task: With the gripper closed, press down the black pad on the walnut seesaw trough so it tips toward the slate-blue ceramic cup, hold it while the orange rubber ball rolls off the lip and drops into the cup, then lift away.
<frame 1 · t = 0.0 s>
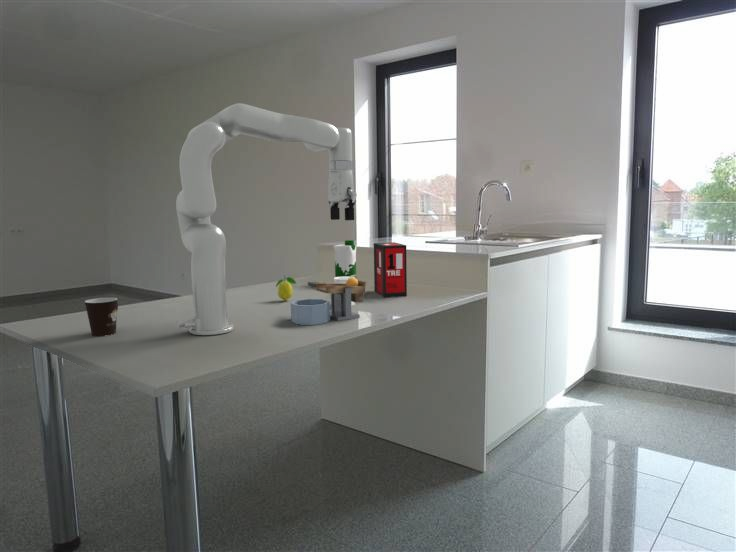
hand: (342, 219, 185), 31 cm above the table, tool pointing down, fingers open, 9 cm apart
white cup: (345, 305, 203), on the table
cleaning product box: (390, 294, 226), on the table
milk carton: (345, 285, 250), on the table
lever trough: (336, 289, 184), point 9 cm above the table, hinge at 6.0°, touching ball
lemon: (286, 301, 213), on the table
ball: (352, 283, 183), point 11 cm above the table, tilted 14°, touching lever trough
coffee mug: (108, 333, 166), on the table
lever stand: (341, 316, 183), on the table
cup: (310, 320, 177), on the table
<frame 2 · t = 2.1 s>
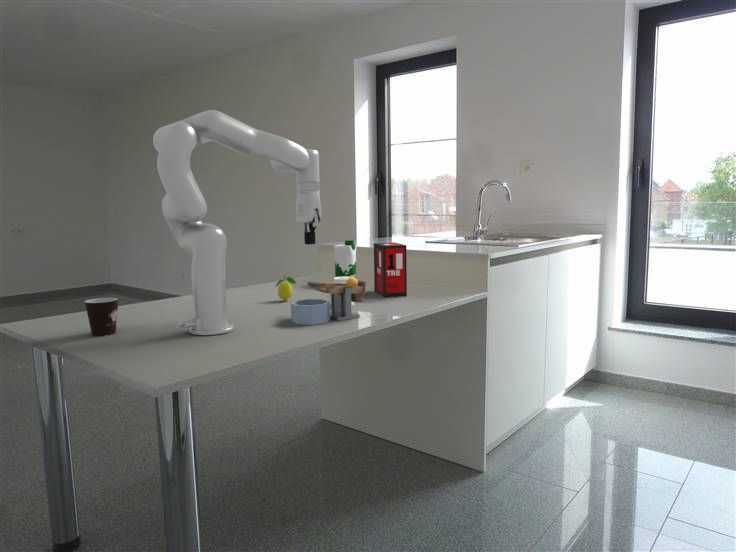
hand: (310, 244, 185), 23 cm above the table, tool pointing down, fingers closed
nothing on the table moved.
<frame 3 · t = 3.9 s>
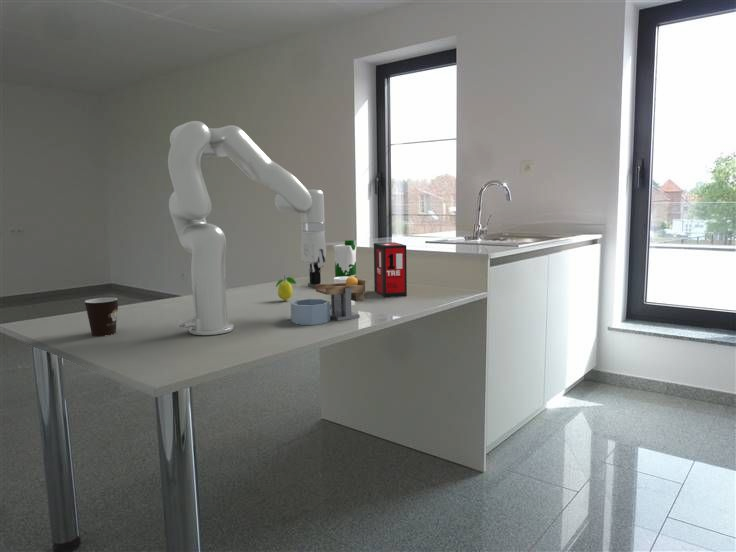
hand: (315, 283, 185), 10 cm above the table, tool pointing down, fingers closed
lever trough: (336, 289, 184), point 9 cm above the table, hinge at 2.3°, touching ball, gripper
everything else where it was.
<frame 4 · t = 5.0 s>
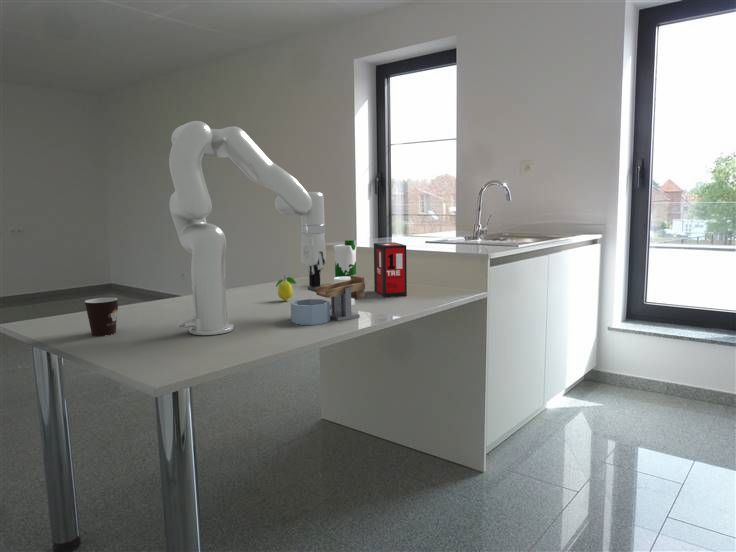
hand: (315, 285, 185), 10 cm above the table, tool pointing down, fingers closed
lever trough: (336, 289, 184), point 9 cm above the table, hinge at -6.1°, touching gripper
ball: (302, 313, 175), point 3 cm above the table, tilted 162°, touching cup
everything else where it was.
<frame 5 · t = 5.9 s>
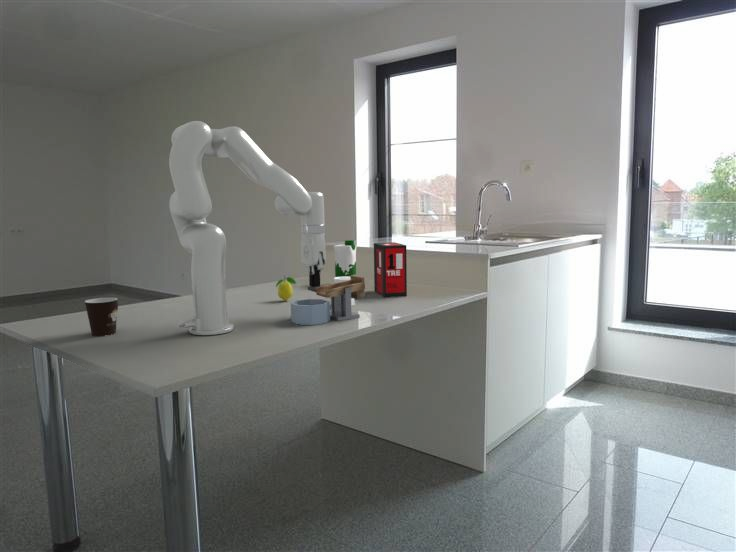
hand: (315, 285, 185), 10 cm above the table, tool pointing down, fingers closed
nothing on the table moved.
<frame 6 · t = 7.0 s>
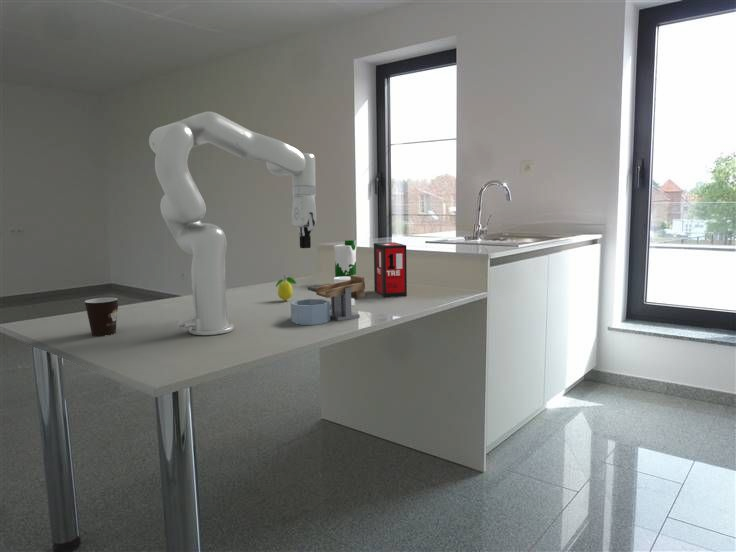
hand: (305, 247, 185), 22 cm above the table, tool pointing down, fingers closed
lever trough: (336, 289, 184), point 9 cm above the table, hinge at -6.1°
everything else where it was.
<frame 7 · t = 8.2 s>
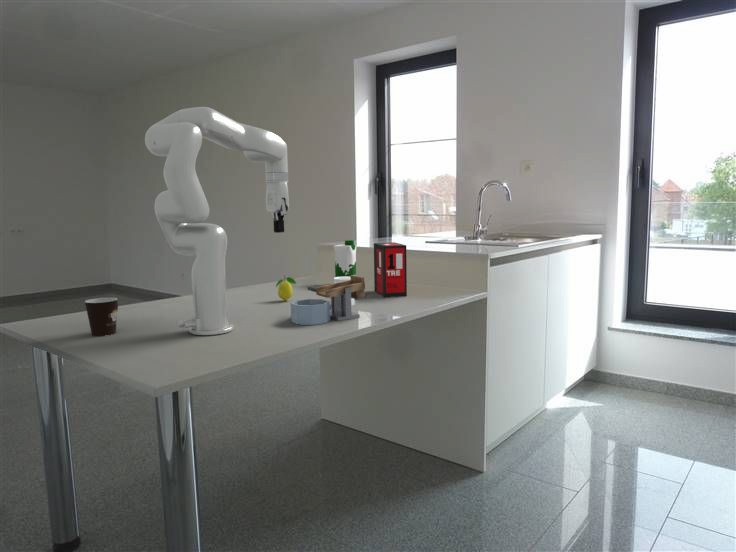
hand: (279, 232, 193), 27 cm above the table, tool pointing down, fingers closed
nothing on the table moved.
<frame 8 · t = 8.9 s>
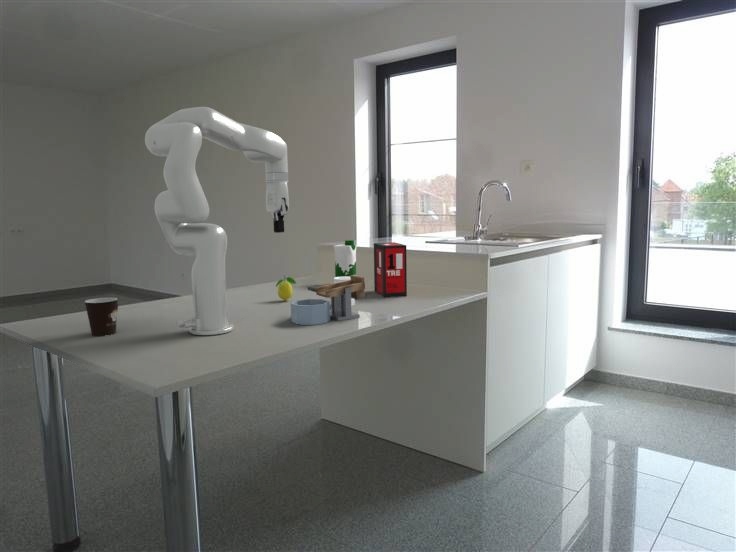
hand: (279, 232, 193), 27 cm above the table, tool pointing down, fingers closed
nothing on the table moved.
at the end: ball inside the target area on the cup (2.6 cm from its centre), point 2.6 cm above the cup's base; the gripper is holding nothing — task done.
